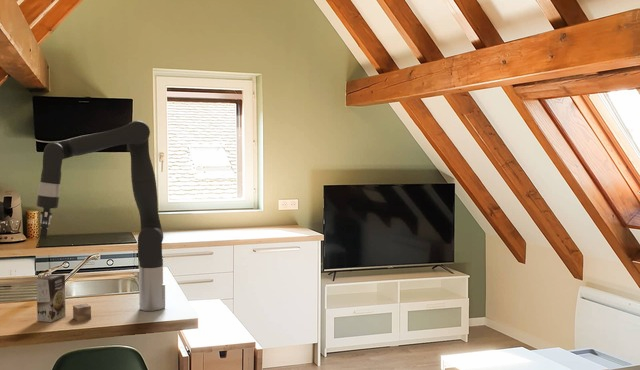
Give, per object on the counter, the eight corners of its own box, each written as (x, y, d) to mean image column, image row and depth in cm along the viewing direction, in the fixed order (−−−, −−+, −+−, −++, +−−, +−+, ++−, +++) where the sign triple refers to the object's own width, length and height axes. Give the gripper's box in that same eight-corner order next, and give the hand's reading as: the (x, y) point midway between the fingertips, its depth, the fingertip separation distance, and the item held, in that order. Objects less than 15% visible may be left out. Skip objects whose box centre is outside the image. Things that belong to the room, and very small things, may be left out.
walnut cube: (86, 316, 250) (86, 303, 249) (91, 319, 246) (90, 306, 245) (73, 318, 247) (72, 305, 246) (77, 321, 243) (77, 308, 242)
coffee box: (52, 322, 241) (51, 279, 240) (36, 321, 242) (35, 278, 241) (66, 315, 250) (65, 274, 249) (51, 314, 251) (50, 273, 250)
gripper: (59, 197, 241) (53, 240, 241) (59, 194, 255) (54, 236, 255) (37, 195, 238) (31, 238, 238) (38, 192, 252) (33, 234, 252)
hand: (43, 237), depth 247 cm, fingers open, 8 cm apart
